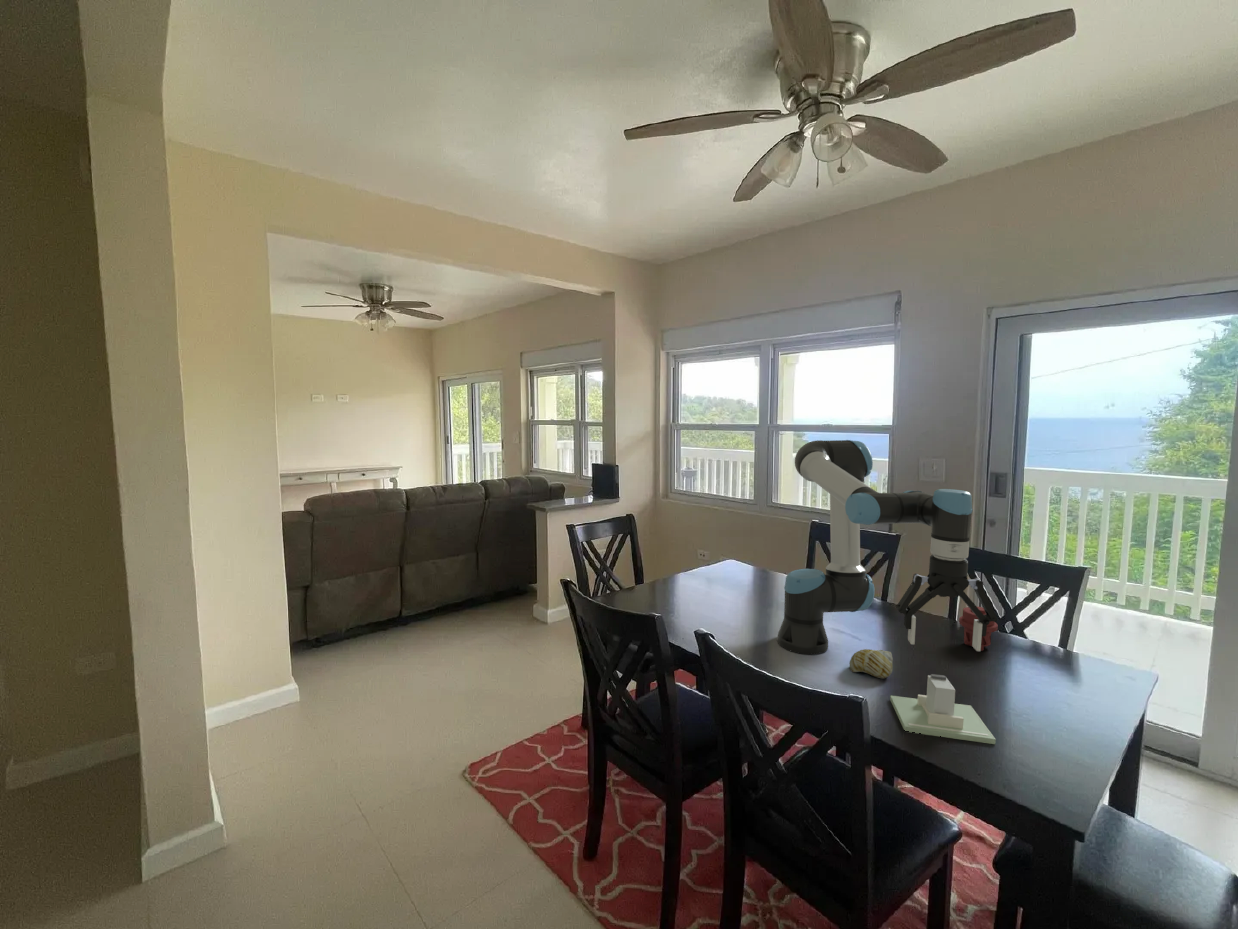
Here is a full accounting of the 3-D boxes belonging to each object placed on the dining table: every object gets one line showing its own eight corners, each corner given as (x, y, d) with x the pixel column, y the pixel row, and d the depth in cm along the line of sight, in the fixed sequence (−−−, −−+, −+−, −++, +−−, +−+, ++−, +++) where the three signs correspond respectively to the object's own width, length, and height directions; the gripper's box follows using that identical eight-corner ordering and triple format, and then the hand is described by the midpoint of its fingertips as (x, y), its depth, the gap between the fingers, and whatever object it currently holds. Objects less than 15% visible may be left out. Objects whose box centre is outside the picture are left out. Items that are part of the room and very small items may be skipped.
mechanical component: (986, 641, 169) (1002, 654, 159) (952, 638, 171) (966, 651, 161) (989, 604, 168) (1005, 615, 158) (954, 601, 170) (968, 613, 160)
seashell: (840, 663, 152) (856, 632, 152) (869, 678, 153) (885, 647, 152) (857, 678, 142) (874, 646, 142) (888, 694, 142) (905, 662, 142)
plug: (933, 720, 122) (935, 685, 121) (925, 706, 128) (927, 672, 127) (953, 723, 121) (955, 687, 120) (944, 709, 127) (946, 675, 126)
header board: (904, 731, 120) (905, 716, 120) (890, 700, 134) (890, 686, 133) (995, 744, 115) (996, 728, 115) (970, 710, 129) (971, 696, 129)
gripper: (893, 557, 121) (888, 645, 122) (1019, 565, 114) (1012, 659, 116) (885, 549, 128) (881, 633, 130) (1003, 556, 121) (997, 644, 123)
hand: (943, 645), depth 123 cm, fingers open, 13 cm apart
